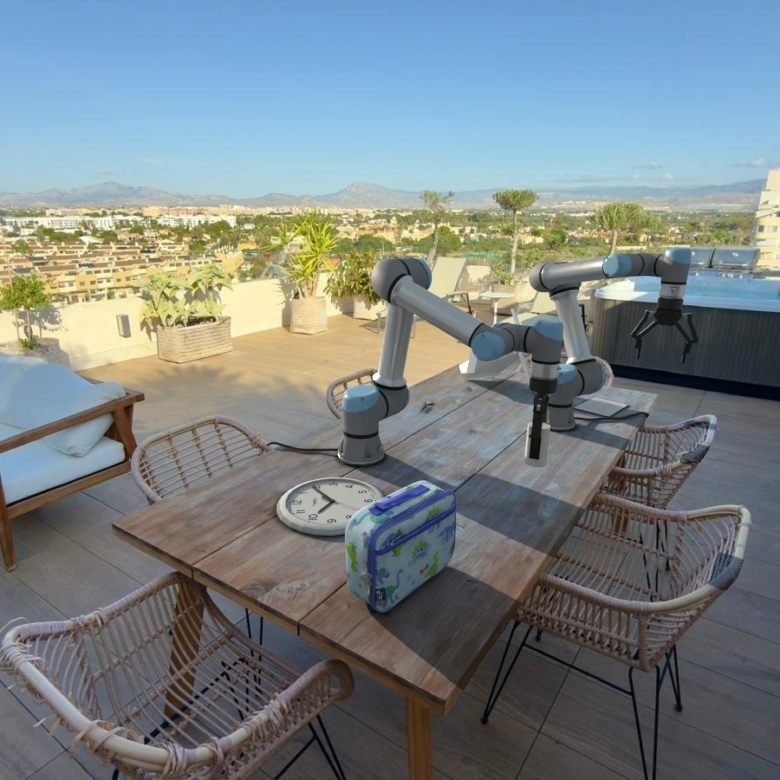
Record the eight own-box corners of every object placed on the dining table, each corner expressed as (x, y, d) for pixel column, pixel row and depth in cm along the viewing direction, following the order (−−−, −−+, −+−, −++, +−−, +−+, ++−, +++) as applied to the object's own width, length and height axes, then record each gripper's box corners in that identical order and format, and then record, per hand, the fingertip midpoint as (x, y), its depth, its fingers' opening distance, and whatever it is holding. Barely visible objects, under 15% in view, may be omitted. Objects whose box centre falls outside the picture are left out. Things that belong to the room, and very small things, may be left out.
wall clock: (392, 527, 129) (268, 531, 127) (391, 533, 130) (269, 537, 127) (383, 473, 158) (282, 475, 155) (383, 478, 158) (282, 480, 156)
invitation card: (608, 416, 214) (573, 407, 224) (608, 416, 214) (573, 408, 224) (628, 404, 229) (594, 396, 238) (628, 405, 229) (594, 397, 238)
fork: (417, 411, 216) (418, 406, 216) (428, 400, 231) (428, 395, 230) (423, 412, 215) (424, 407, 215) (434, 400, 230) (434, 396, 229)
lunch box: (374, 626, 100) (375, 530, 93) (338, 598, 107) (337, 508, 101) (459, 568, 117) (465, 484, 111) (424, 547, 124) (427, 467, 118)
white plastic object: (480, 421, 262) (459, 398, 238) (462, 347, 285) (440, 320, 260) (552, 397, 250) (537, 370, 226) (527, 322, 272) (511, 290, 248)
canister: (522, 464, 150) (526, 426, 146) (526, 456, 155) (529, 419, 152) (544, 468, 147) (548, 430, 144) (547, 460, 153) (551, 423, 149)
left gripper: (554, 387, 134) (545, 469, 141) (561, 370, 151) (552, 443, 158) (524, 384, 136) (517, 464, 143) (534, 367, 153) (527, 440, 160)
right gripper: (629, 296, 172) (620, 358, 178) (716, 301, 163) (703, 367, 169) (629, 293, 178) (619, 354, 185) (712, 298, 169) (700, 361, 176)
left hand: (535, 453), depth 150 cm, fingers closed on canister, 6 cm apart
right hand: (659, 360), depth 177 cm, fingers open, 13 cm apart
